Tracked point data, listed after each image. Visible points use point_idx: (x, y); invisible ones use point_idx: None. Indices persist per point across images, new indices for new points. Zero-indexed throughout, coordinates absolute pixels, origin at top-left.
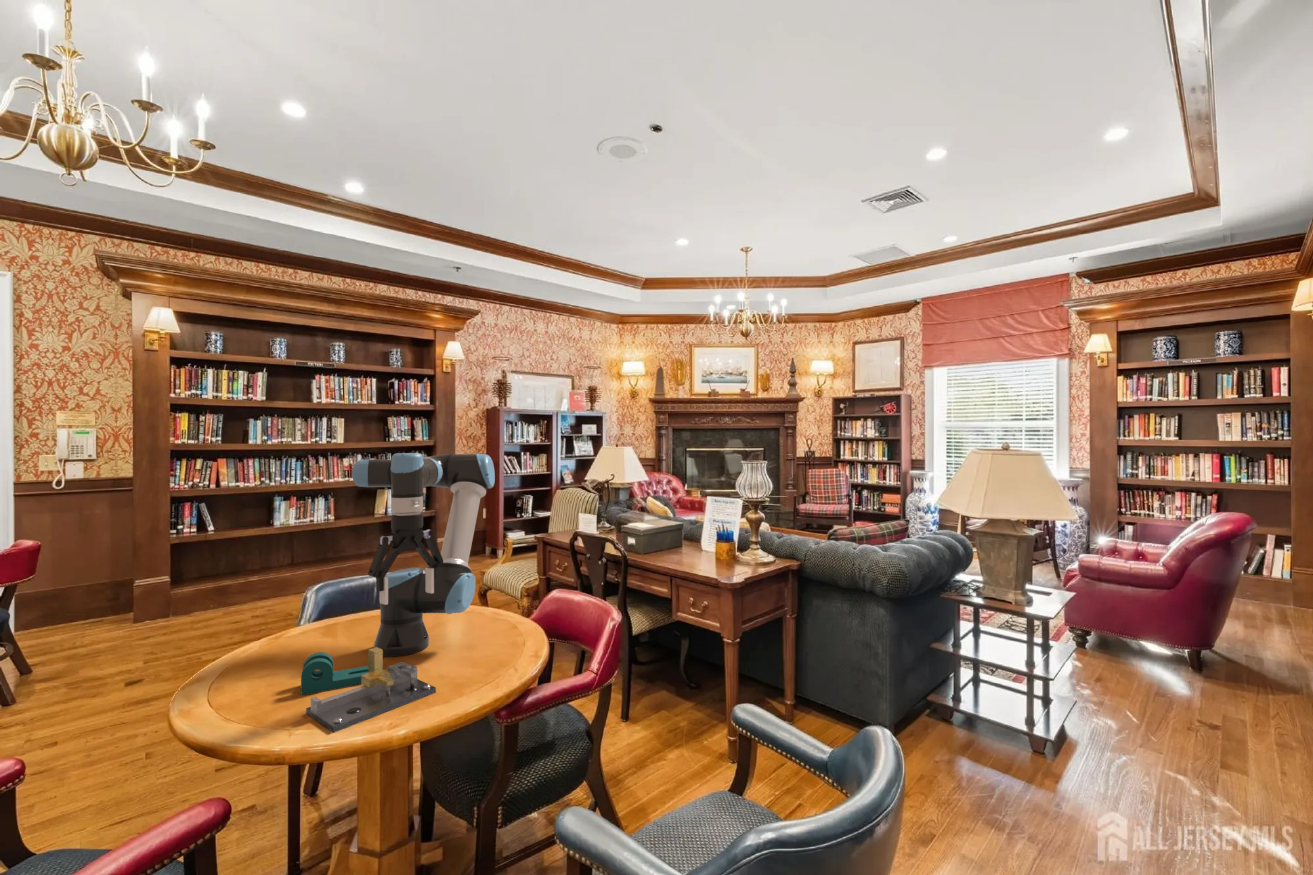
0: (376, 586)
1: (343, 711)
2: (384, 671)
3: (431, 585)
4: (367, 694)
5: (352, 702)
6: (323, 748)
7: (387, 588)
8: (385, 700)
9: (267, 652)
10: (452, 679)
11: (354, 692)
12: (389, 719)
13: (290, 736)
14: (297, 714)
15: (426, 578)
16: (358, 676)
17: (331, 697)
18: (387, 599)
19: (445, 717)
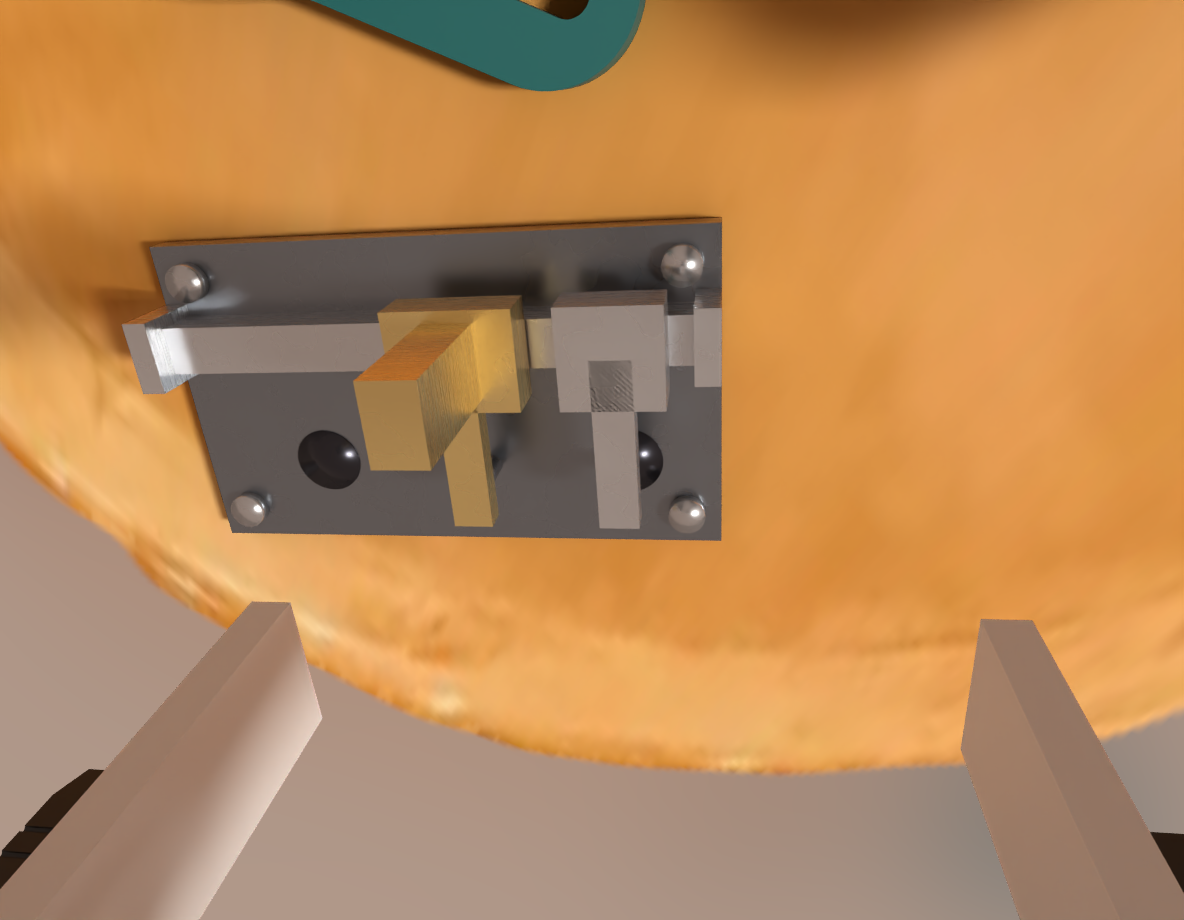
0: (25, 836)
1: (291, 429)
2: (505, 369)
3: (1000, 858)
4: None
5: None
6: (197, 598)
7: (201, 900)
8: None
9: None
10: (883, 459)
11: (341, 371)
12: (446, 591)
13: (99, 418)
14: (131, 216)
15: (1060, 836)
16: (458, 56)
17: (232, 339)
18: (286, 763)
19: (612, 737)
